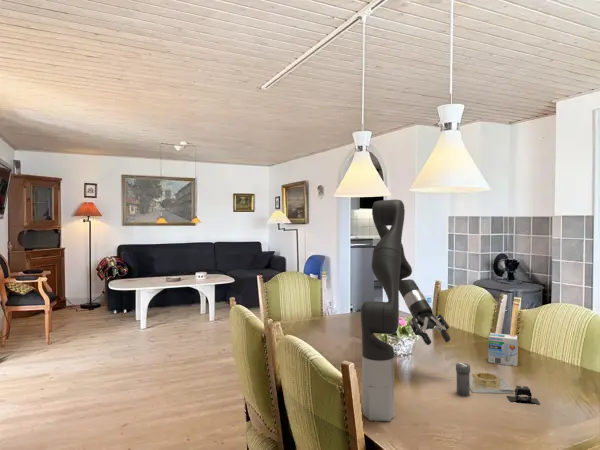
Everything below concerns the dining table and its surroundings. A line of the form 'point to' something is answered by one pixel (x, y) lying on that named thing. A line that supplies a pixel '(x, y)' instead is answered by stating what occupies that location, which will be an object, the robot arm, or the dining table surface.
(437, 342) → the dining table surface
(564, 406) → the dining table surface
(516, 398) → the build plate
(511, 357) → the light bulb box
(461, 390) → the dark grey capped cylinder
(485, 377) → the hub plate
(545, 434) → the dining table surface
